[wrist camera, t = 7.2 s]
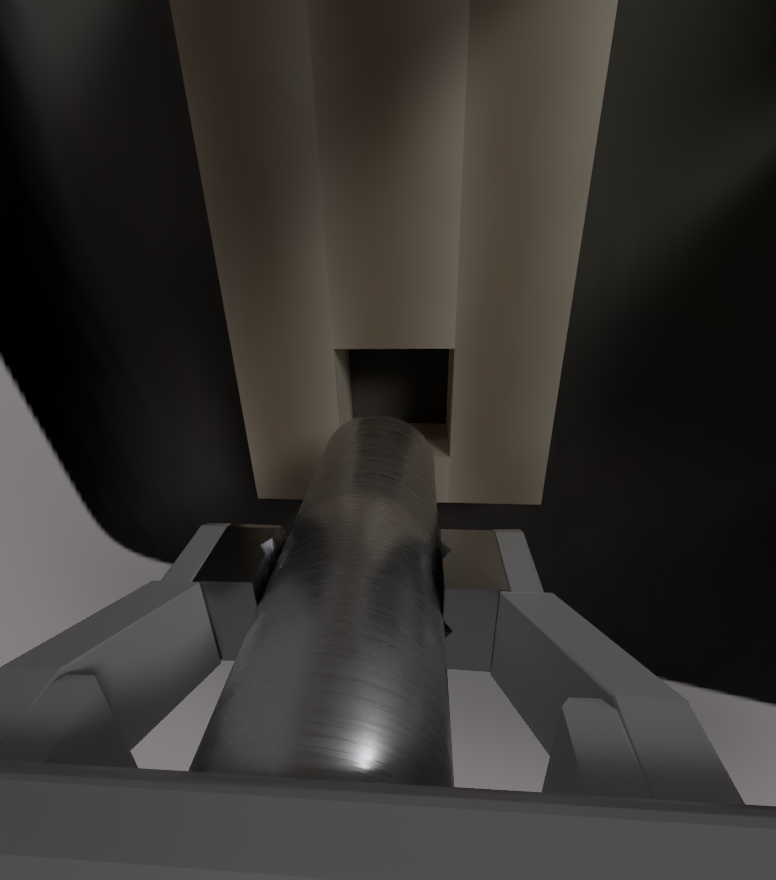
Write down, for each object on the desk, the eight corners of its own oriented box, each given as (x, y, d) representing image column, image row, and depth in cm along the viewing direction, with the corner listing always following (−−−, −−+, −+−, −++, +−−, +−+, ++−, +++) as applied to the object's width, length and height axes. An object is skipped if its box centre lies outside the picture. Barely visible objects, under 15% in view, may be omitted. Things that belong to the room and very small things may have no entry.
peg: (435, 414, 11) (499, 1177, 2) (433, 513, 13) (467, 1246, 4) (318, 414, 11) (-54, 1113, 2) (327, 511, 13) (106, 1201, 4)
